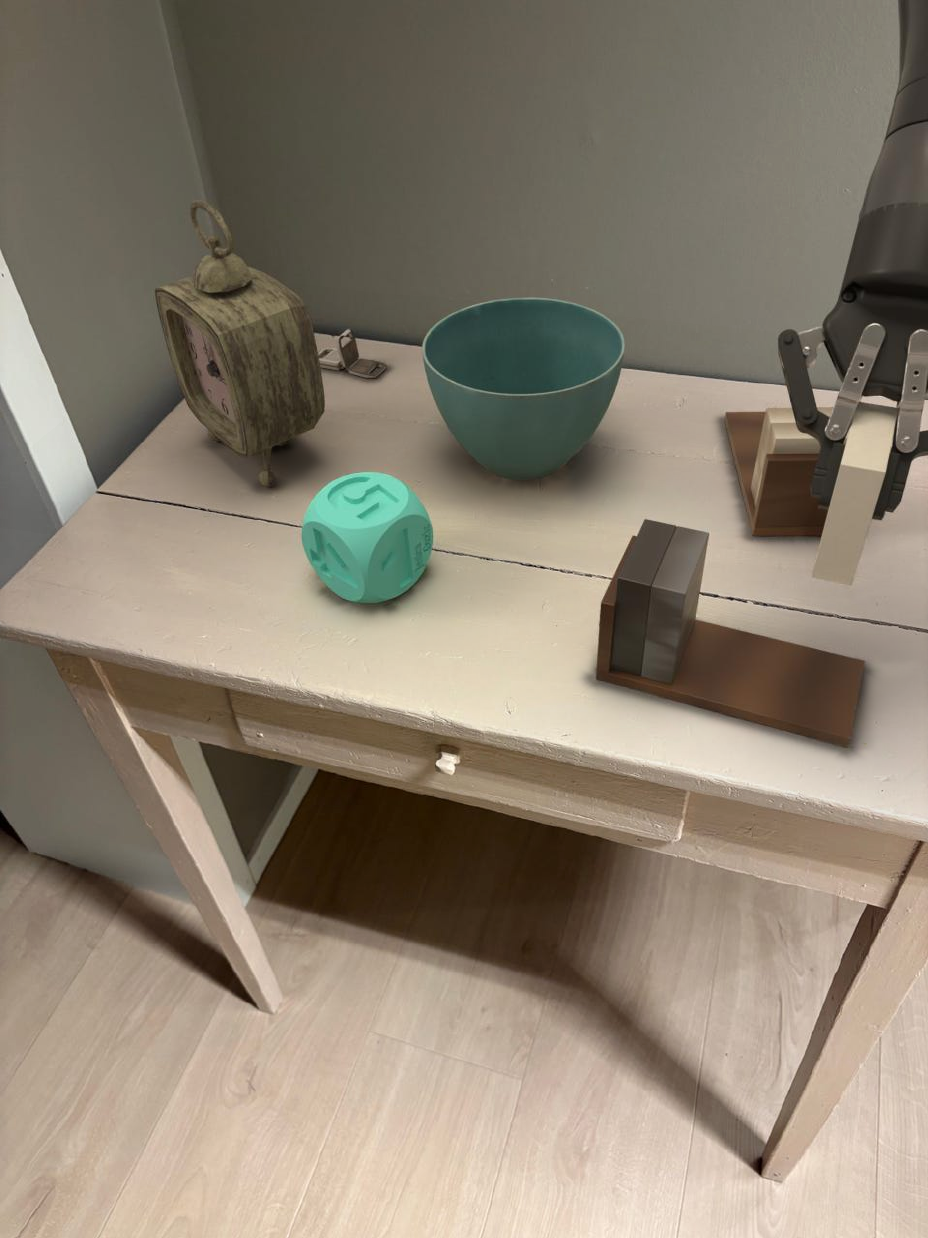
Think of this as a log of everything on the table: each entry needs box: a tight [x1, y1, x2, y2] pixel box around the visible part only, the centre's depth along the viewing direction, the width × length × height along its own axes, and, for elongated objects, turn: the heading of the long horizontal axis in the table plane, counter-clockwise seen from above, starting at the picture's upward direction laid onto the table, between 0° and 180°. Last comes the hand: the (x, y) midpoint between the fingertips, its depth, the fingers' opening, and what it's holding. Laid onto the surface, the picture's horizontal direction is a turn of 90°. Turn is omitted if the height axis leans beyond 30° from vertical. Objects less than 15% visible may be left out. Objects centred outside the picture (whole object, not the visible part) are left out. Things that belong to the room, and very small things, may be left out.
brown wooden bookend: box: [595, 518, 866, 748], centre depth 69 cm, size 18×8×10 cm, turn 67°
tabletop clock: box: [154, 199, 326, 487], centre depth 89 cm, size 14×9×25 cm, turn 38°
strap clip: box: [318, 328, 387, 379], centre depth 108 cm, size 8×3×4 cm, turn 63°
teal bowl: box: [421, 297, 626, 481], centre depth 91 cm, size 18×18×12 cm
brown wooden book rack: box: [724, 406, 850, 537], centre depth 87 cm, size 19×8×10 cm, turn 177°
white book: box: [810, 401, 897, 587], centre depth 59 cm, size 2×7×8 cm, turn 157°
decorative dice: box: [300, 471, 434, 604], centre depth 80 cm, size 8×8×8 cm
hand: (850, 511), depth 57 cm, fingers closed on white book, 2 cm apart
